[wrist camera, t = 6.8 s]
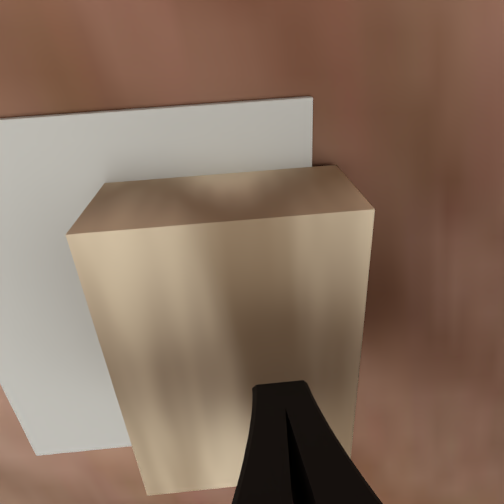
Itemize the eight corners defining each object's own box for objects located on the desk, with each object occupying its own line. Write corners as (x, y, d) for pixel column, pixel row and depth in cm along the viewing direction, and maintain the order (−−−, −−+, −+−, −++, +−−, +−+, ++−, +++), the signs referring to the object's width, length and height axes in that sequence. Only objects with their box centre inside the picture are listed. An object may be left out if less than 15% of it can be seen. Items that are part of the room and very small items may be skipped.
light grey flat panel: (310, 95, 12) (312, 97, 11) (306, 422, 18) (307, 428, 18) (-120, 126, 11) (-128, 129, 11) (39, 449, 18) (36, 455, 18)
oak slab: (374, 209, 9) (65, 234, 9) (349, 474, 14) (147, 495, 14) (335, 165, 12) (104, 183, 12) (325, 395, 17) (160, 411, 17)
